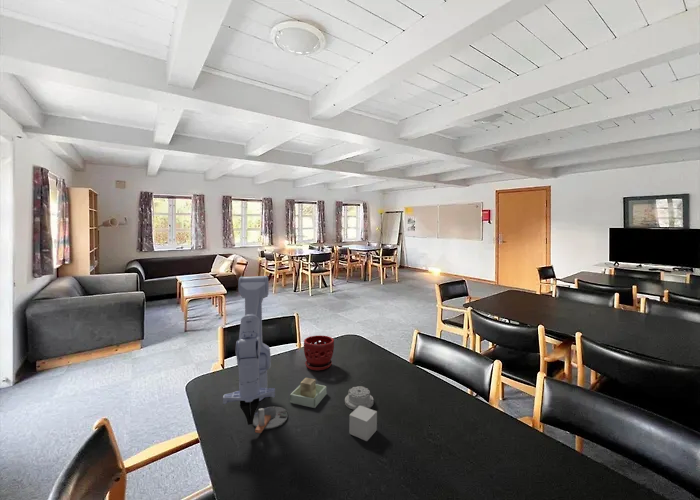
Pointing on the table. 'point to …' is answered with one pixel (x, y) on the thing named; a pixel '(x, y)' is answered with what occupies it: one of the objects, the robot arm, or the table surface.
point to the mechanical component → (358, 398)
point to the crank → (264, 418)
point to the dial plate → (274, 422)
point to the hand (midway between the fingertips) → (250, 422)
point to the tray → (308, 401)
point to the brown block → (308, 387)
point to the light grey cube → (363, 422)
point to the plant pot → (318, 352)
